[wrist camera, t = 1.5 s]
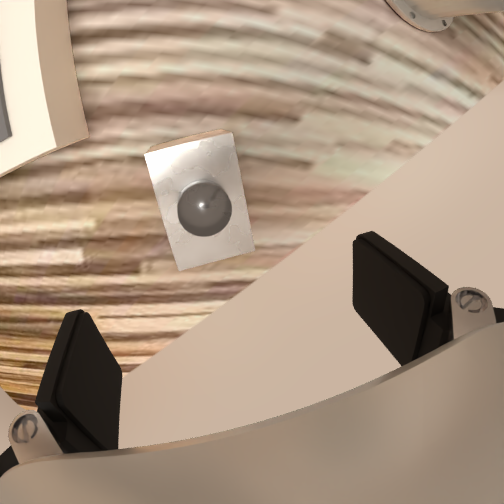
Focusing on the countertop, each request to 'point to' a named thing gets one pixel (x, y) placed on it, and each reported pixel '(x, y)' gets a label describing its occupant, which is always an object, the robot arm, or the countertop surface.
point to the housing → (201, 197)
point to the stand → (37, 83)
